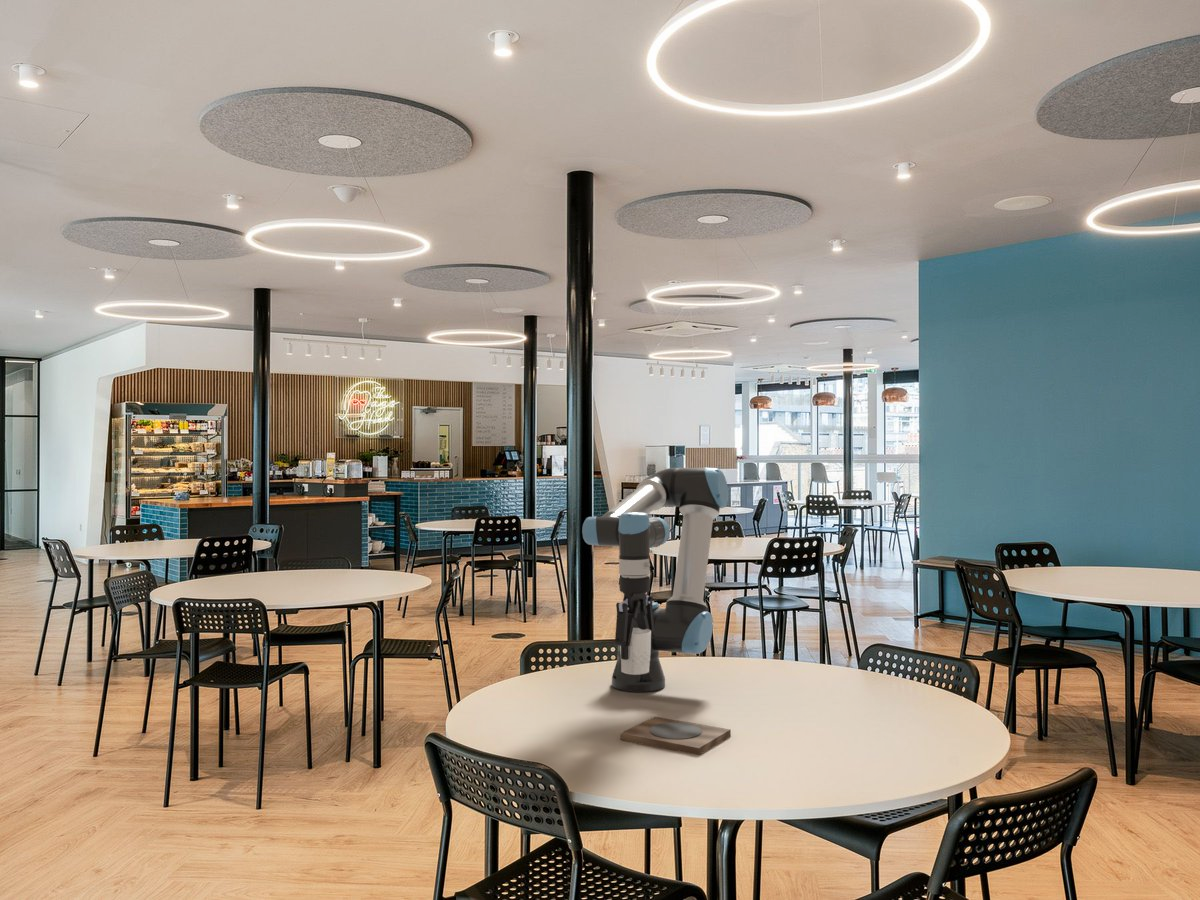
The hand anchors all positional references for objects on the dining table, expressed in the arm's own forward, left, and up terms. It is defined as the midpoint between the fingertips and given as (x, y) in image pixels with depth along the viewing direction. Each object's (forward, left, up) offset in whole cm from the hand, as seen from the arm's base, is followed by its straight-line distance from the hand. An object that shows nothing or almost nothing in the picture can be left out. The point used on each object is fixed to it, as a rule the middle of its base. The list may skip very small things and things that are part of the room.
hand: (635, 668), depth 219 cm
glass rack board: (+7, +15, -13) cm, 21 cm away
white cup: (0, 0, -1) cm, 1 cm away
